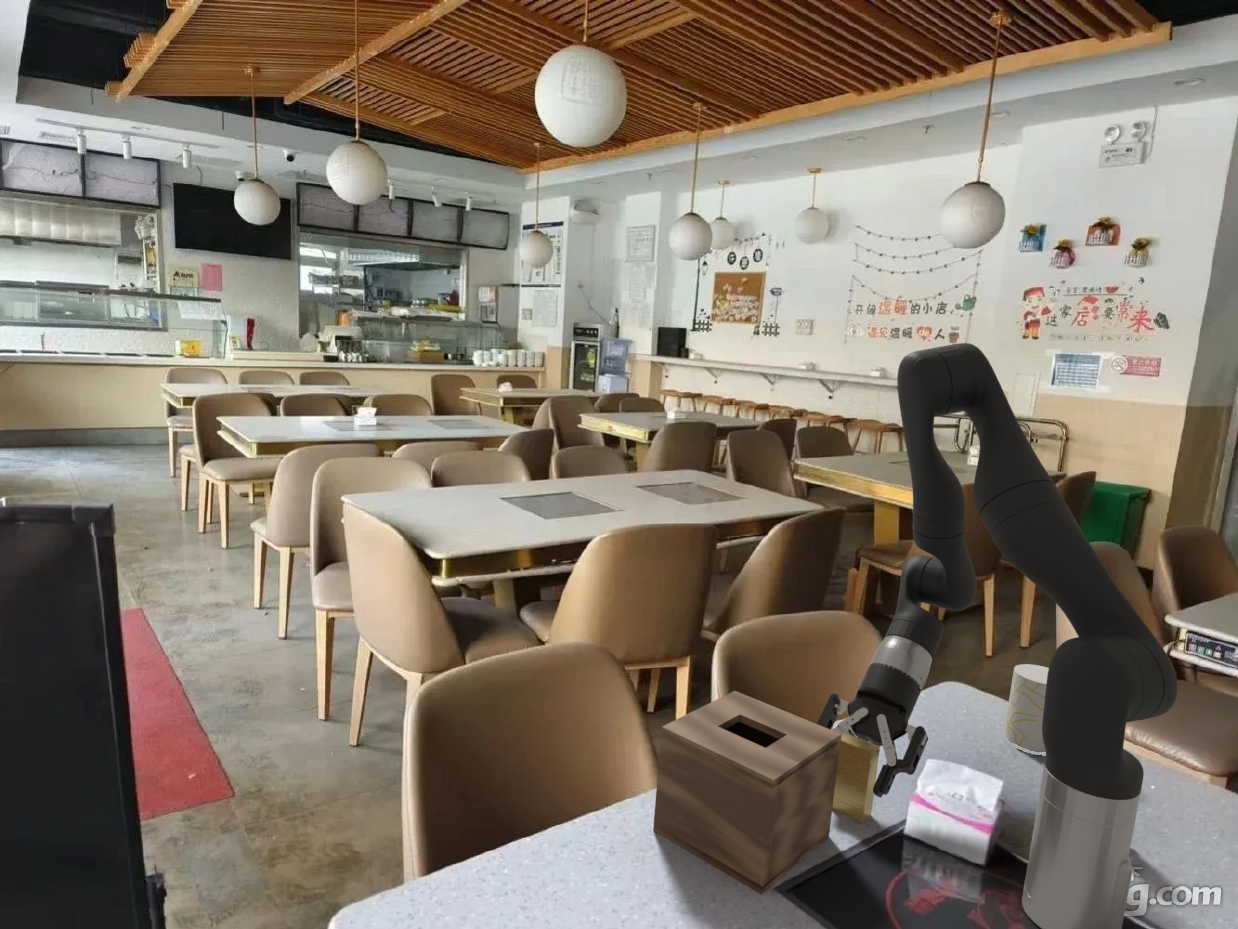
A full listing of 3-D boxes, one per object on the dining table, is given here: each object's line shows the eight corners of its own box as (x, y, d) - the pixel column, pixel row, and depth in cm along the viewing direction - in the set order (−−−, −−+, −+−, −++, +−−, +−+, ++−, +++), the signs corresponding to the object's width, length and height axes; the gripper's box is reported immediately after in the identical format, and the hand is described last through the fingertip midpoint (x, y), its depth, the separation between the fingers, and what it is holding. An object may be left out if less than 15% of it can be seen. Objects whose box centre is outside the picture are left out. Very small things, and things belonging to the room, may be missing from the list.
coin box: (725, 784, 115) (734, 690, 112) (828, 836, 104) (841, 734, 102) (653, 830, 103) (661, 726, 101) (761, 894, 92) (773, 780, 90)
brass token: (837, 799, 113) (845, 732, 111) (871, 815, 110) (880, 746, 108) (828, 806, 111) (836, 738, 109) (862, 823, 108) (871, 753, 106)
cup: (992, 733, 136) (1002, 665, 134) (1031, 729, 138) (1042, 662, 137) (1029, 758, 128) (1041, 687, 126) (1070, 754, 131) (1082, 683, 129)
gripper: (842, 647, 117) (792, 749, 111) (941, 680, 108) (894, 793, 101) (854, 672, 122) (808, 771, 115) (951, 706, 113) (906, 816, 106)
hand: (848, 781), depth 108 cm, fingers open, 7 cm apart
